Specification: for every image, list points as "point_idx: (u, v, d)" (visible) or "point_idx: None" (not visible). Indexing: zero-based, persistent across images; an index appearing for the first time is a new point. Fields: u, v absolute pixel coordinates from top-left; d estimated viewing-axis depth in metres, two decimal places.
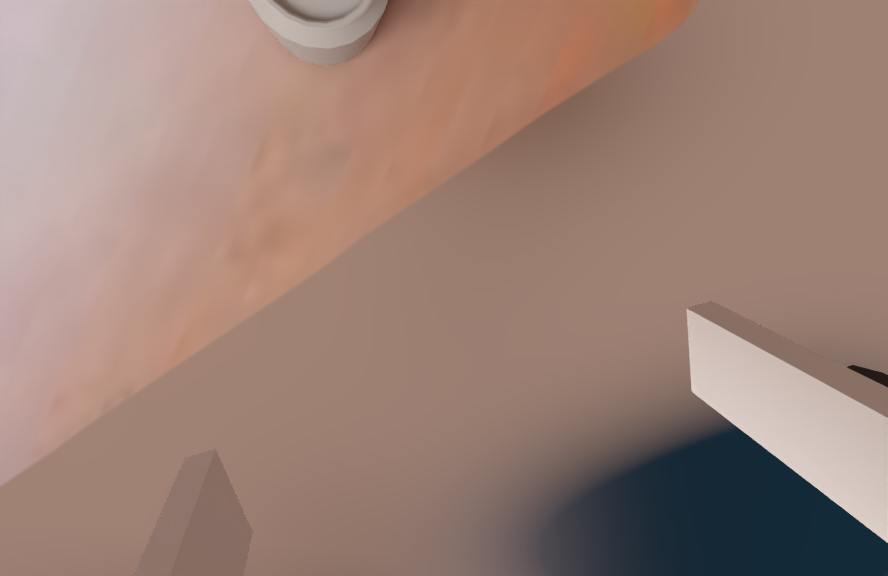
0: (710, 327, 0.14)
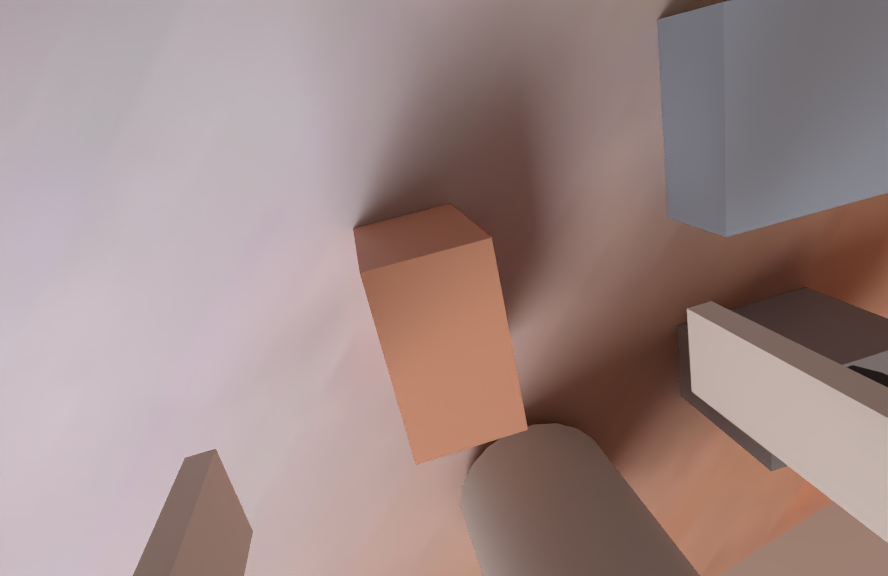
0: (710, 327, 0.14)
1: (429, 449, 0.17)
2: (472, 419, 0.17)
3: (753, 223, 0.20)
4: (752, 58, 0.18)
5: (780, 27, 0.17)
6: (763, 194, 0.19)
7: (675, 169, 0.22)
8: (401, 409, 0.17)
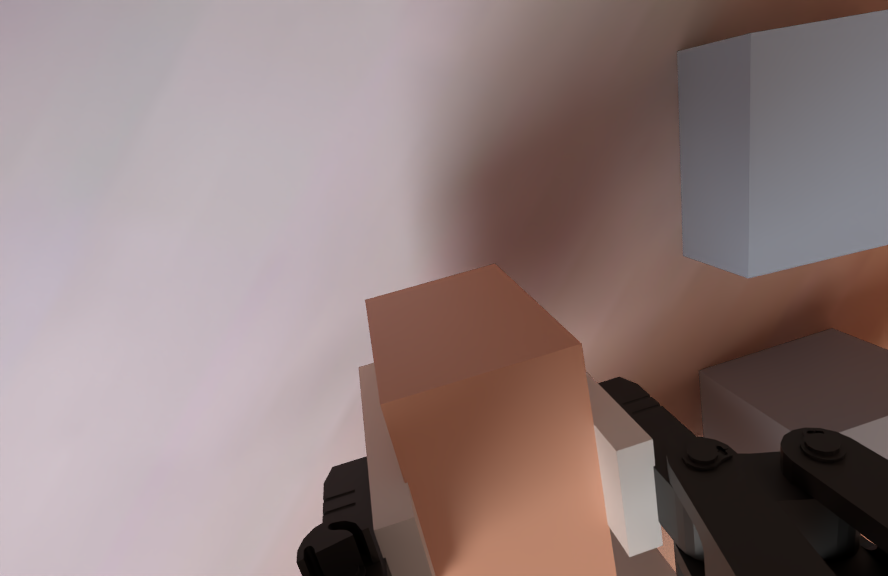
0: None
1: None
2: None
3: (777, 264, 0.19)
4: (779, 92, 0.17)
5: (808, 61, 0.17)
6: (787, 234, 0.18)
7: (693, 205, 0.21)
8: None
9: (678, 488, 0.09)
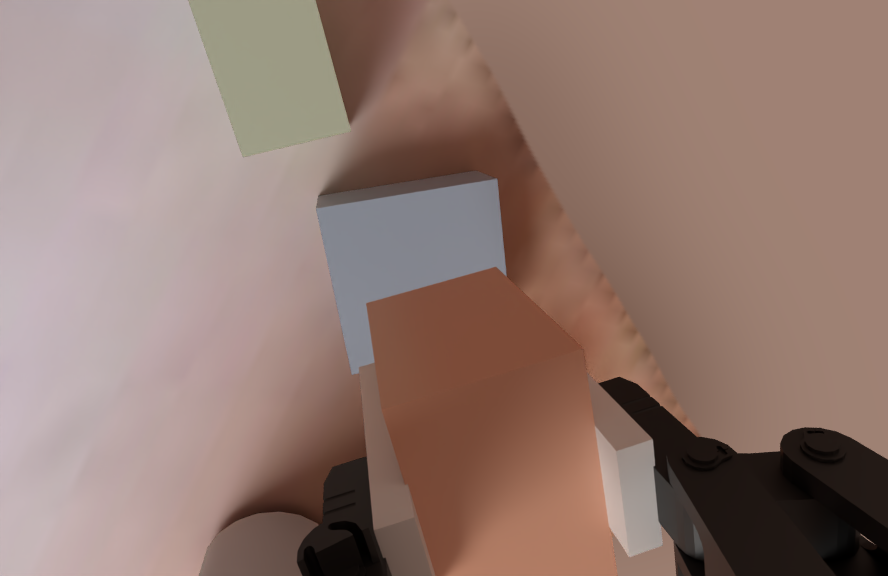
0: None
1: None
2: None
3: None
4: (349, 247, 0.23)
5: (370, 226, 0.23)
6: None
7: None
8: None
9: (678, 488, 0.09)
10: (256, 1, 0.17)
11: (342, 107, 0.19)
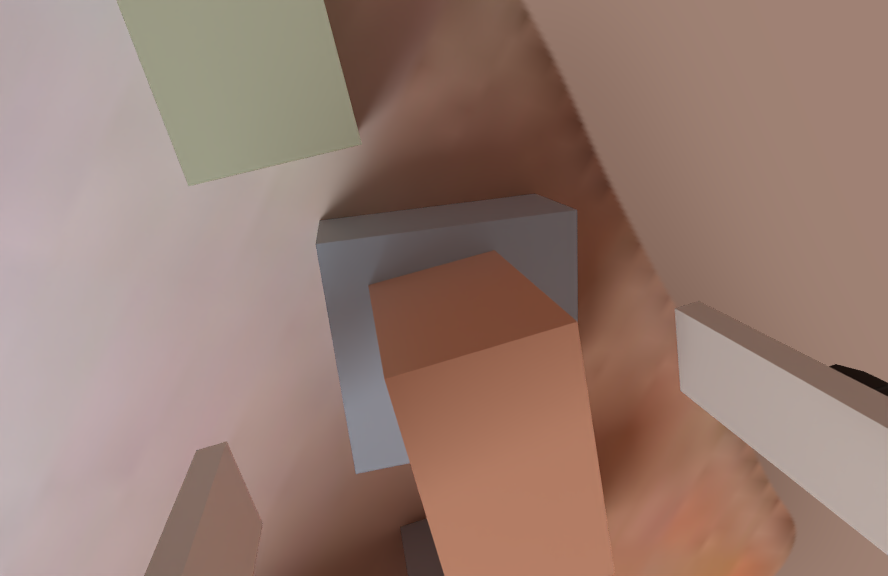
0: (696, 326, 0.14)
1: None
2: (540, 566, 0.12)
3: (388, 460, 0.18)
4: (361, 300, 0.16)
5: (393, 271, 0.16)
6: (396, 433, 0.17)
7: None
8: (441, 559, 0.12)
9: None
10: None
11: (348, 106, 0.12)
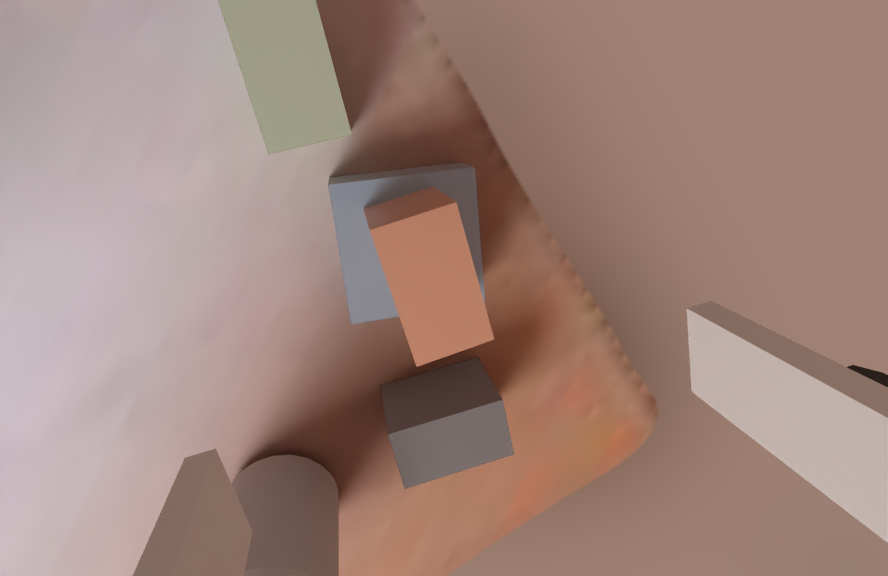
0: (709, 327, 0.14)
1: (425, 355, 0.25)
2: (454, 332, 0.25)
3: (370, 317, 0.30)
4: (353, 217, 0.28)
5: (371, 201, 0.28)
6: (375, 299, 0.30)
7: None
8: (403, 326, 0.24)
9: None
10: (280, 36, 0.23)
11: (345, 116, 0.25)
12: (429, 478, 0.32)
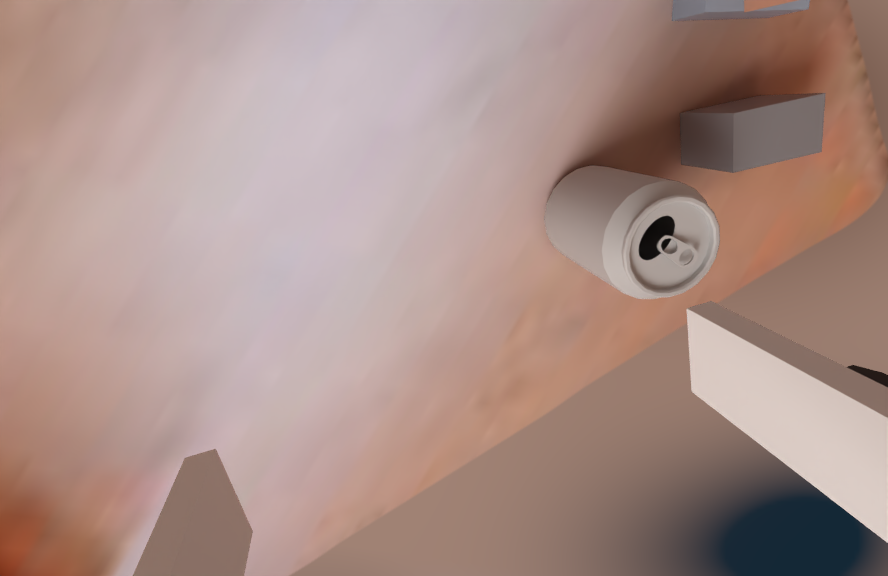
0: (710, 327, 0.14)
1: None
2: None
3: (720, 7, 0.35)
4: None
5: None
6: None
7: None
8: None
9: None
10: None
11: None
12: (753, 165, 0.37)
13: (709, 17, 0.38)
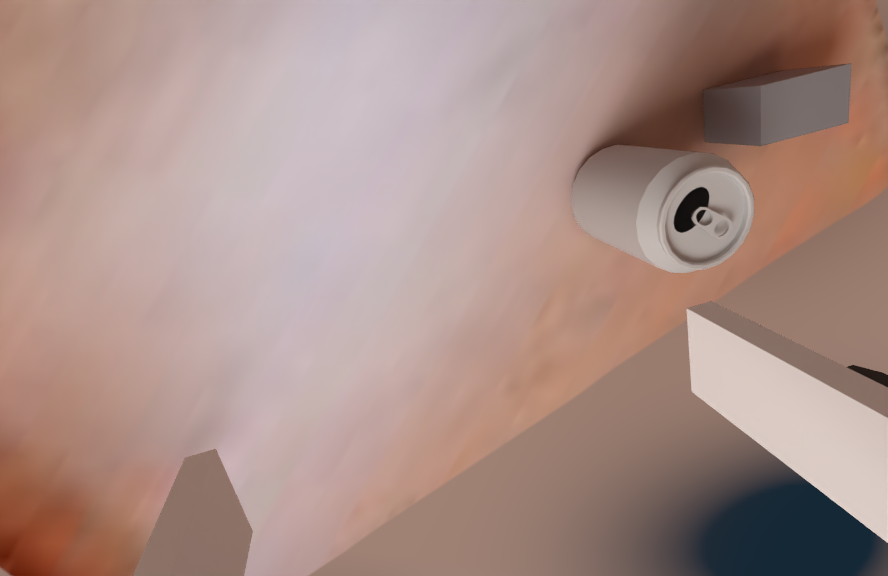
0: (710, 327, 0.14)
1: None
2: None
3: None
4: None
5: None
6: None
7: None
8: None
9: None
10: None
11: None
12: (781, 138, 0.37)
13: None
